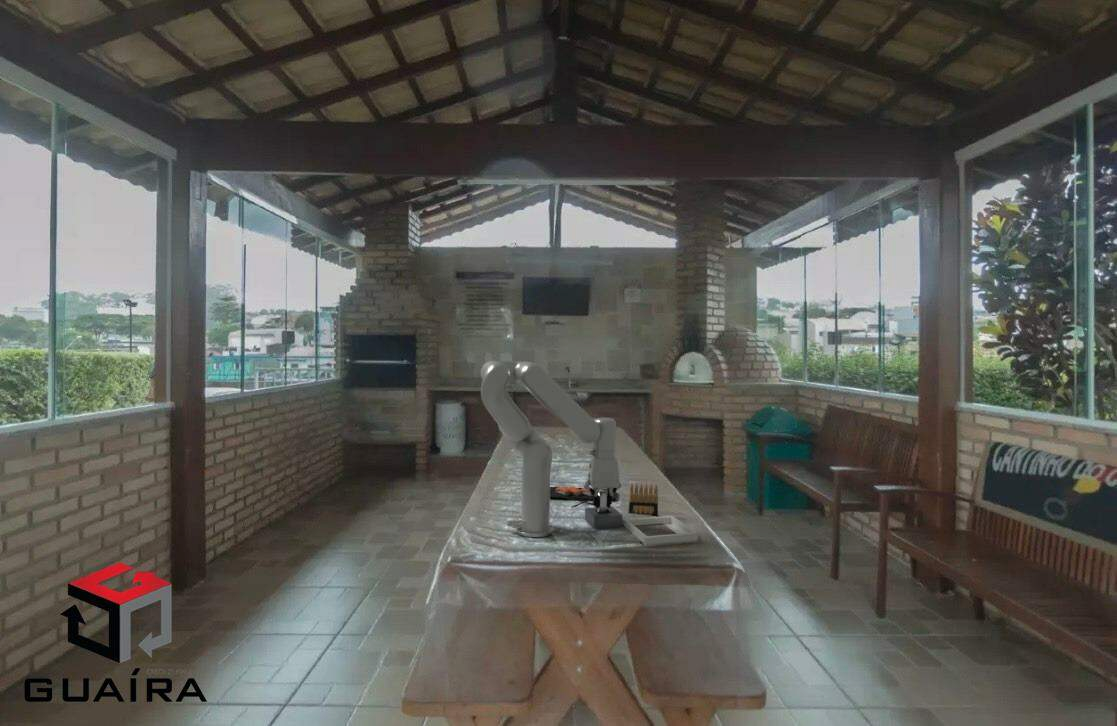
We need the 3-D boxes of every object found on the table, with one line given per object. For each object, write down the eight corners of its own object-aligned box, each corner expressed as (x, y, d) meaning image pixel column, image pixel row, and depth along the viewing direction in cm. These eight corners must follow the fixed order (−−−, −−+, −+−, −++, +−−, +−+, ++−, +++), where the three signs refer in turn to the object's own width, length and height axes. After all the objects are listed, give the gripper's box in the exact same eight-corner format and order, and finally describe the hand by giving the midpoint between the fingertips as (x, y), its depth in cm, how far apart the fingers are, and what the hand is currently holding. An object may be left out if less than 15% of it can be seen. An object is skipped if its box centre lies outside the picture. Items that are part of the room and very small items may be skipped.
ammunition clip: (628, 515, 212) (628, 483, 212) (628, 514, 214) (628, 482, 213) (658, 517, 211) (658, 484, 210) (657, 515, 213) (658, 483, 212)
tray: (645, 547, 181) (645, 537, 181) (623, 528, 199) (623, 519, 199) (697, 542, 186) (697, 533, 186) (671, 524, 204) (671, 515, 203)
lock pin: (598, 521, 199) (599, 492, 198) (595, 518, 202) (596, 490, 202) (608, 521, 199) (609, 492, 199) (604, 518, 203) (605, 489, 202)
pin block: (594, 531, 195) (594, 517, 195) (584, 522, 204) (585, 508, 204) (622, 529, 198) (622, 514, 197) (611, 520, 207) (611, 506, 207)
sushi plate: (616, 493, 243) (616, 484, 243) (616, 516, 214) (616, 505, 213) (547, 490, 246) (547, 481, 246) (538, 512, 216) (538, 502, 216)
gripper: (584, 457, 194) (582, 511, 195) (630, 455, 198) (628, 508, 199) (577, 452, 201) (575, 504, 202) (622, 451, 205) (620, 502, 206)
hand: (602, 506), depth 200 cm, fingers closed on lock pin, 3 cm apart
